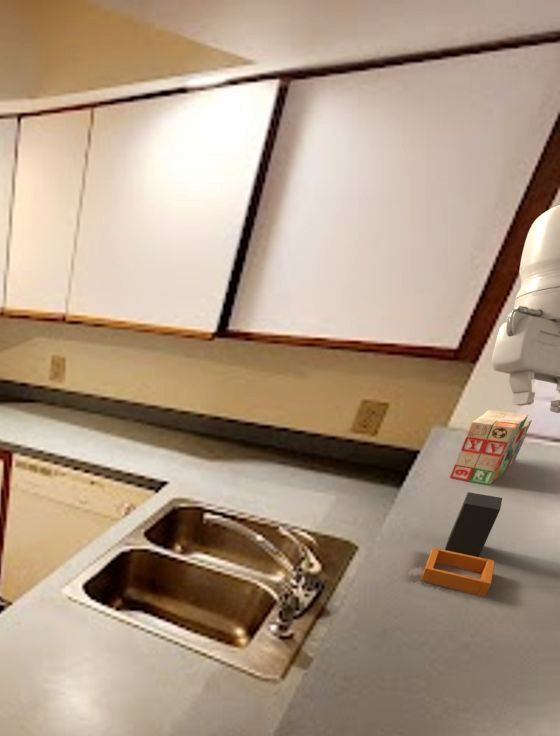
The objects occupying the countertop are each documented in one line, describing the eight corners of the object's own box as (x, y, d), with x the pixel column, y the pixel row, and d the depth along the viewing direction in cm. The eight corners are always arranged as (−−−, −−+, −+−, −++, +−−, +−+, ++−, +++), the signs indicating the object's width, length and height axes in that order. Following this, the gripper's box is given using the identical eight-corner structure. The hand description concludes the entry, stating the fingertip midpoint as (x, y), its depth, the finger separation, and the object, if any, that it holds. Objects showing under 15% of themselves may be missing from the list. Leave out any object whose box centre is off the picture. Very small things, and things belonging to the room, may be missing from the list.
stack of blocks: (477, 454, 142) (499, 401, 136) (515, 461, 137) (540, 406, 132) (449, 477, 131) (472, 420, 125) (489, 485, 126) (515, 426, 121)
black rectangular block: (477, 553, 102) (502, 497, 98) (474, 567, 99) (500, 509, 94) (444, 546, 105) (467, 491, 100) (440, 559, 101) (464, 503, 97)
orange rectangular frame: (490, 580, 95) (500, 559, 93) (484, 610, 88) (495, 587, 86) (421, 564, 100) (429, 544, 98) (411, 591, 93) (420, 569, 92)
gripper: (542, 297, 86) (527, 397, 87) (625, 320, 92) (610, 414, 93) (484, 309, 92) (470, 402, 93) (565, 330, 98) (552, 418, 99)
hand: (541, 408), depth 93 cm, fingers open, 8 cm apart
